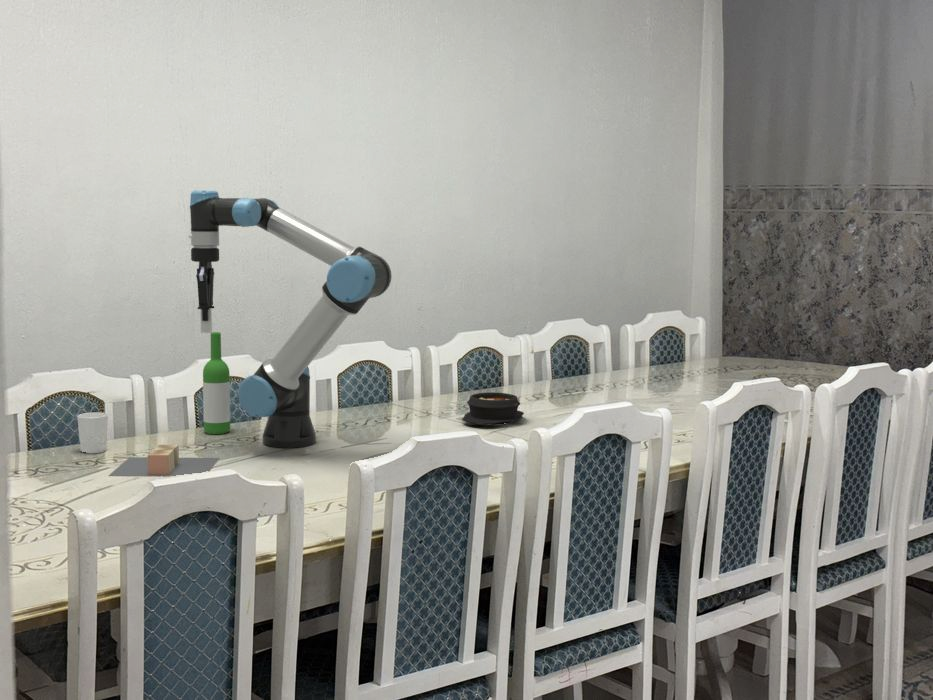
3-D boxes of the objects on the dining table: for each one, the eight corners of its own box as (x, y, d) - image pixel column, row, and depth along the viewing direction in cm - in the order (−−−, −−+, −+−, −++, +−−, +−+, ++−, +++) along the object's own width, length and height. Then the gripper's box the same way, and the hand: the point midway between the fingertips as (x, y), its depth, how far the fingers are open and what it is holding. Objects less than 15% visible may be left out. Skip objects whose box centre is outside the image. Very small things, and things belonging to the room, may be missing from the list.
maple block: (178, 444, 283) (167, 455, 271) (178, 463, 283) (168, 474, 271) (159, 444, 282) (147, 455, 270) (159, 463, 283) (148, 474, 271)
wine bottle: (211, 436, 318) (209, 334, 314) (199, 431, 324) (197, 332, 320) (235, 433, 323) (233, 333, 319) (222, 428, 329) (221, 330, 325)
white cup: (74, 450, 298) (73, 414, 297) (102, 446, 303) (101, 411, 302) (84, 455, 292) (83, 419, 291) (113, 451, 297) (112, 415, 296)
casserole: (499, 432, 331) (499, 405, 330) (447, 425, 340) (448, 398, 339) (537, 419, 352) (537, 393, 351) (487, 412, 361) (488, 387, 360)
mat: (220, 459, 290) (220, 457, 290) (205, 478, 270) (205, 476, 270) (129, 458, 289) (129, 457, 289) (108, 477, 269) (108, 476, 269)
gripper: (196, 245, 303) (197, 329, 307) (186, 247, 291) (187, 335, 294) (223, 246, 304) (224, 329, 307) (214, 248, 291) (215, 335, 294)
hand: (206, 332), depth 300 cm, fingers closed
